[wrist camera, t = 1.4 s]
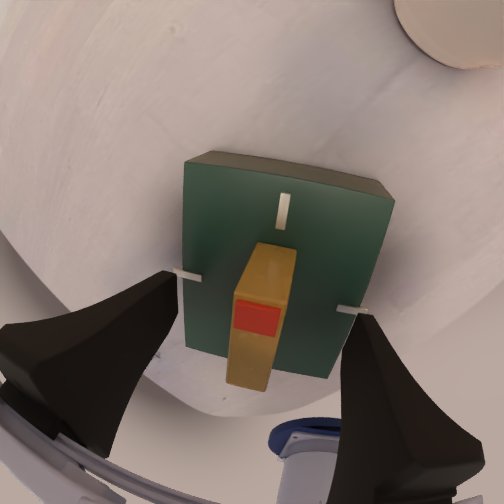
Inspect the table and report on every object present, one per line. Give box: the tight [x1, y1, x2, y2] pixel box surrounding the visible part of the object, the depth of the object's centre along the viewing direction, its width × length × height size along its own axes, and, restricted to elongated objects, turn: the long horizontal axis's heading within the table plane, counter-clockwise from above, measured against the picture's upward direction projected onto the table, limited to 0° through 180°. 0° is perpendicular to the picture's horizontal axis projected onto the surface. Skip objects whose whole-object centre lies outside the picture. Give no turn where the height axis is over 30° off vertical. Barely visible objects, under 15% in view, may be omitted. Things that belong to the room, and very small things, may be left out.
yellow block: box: [226, 242, 297, 392], centre depth 11 cm, size 5×2×4 cm, turn 174°
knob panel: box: [173, 151, 395, 379], centre depth 14 cm, size 10×9×3 cm
